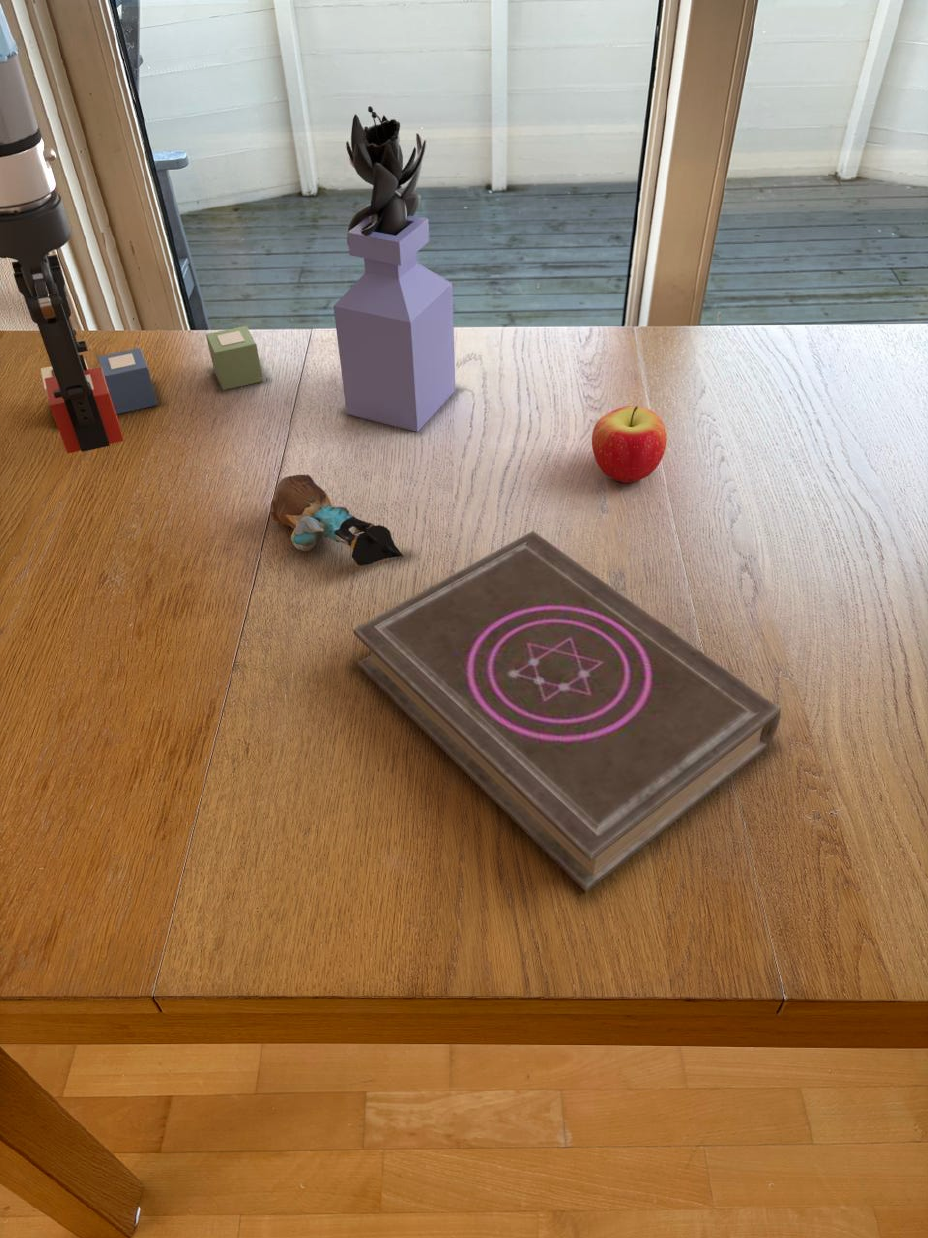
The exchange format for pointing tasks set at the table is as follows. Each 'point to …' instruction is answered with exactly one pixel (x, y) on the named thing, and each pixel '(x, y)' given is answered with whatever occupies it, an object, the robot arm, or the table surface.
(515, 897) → the table surface
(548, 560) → the book
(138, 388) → the blue block
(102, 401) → the red block
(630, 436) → the apple
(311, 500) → the figurine
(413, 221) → the vase
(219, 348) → the sage block
